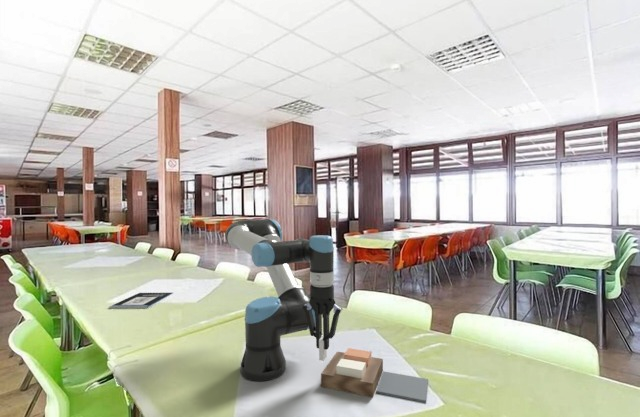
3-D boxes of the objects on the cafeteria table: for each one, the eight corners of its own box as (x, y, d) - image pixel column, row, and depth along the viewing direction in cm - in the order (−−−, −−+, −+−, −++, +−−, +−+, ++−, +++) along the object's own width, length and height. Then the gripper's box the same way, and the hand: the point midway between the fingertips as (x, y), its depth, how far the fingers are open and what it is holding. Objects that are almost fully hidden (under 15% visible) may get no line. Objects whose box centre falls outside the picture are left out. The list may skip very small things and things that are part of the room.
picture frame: (173, 294, 208) (173, 291, 208) (147, 310, 178) (147, 306, 178) (139, 294, 208) (139, 291, 208) (108, 309, 178) (108, 306, 178)
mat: (376, 392, 97) (376, 390, 97) (383, 373, 108) (383, 371, 108) (426, 402, 92) (426, 400, 92) (428, 380, 103) (428, 379, 103)
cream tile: (336, 373, 100) (336, 365, 100) (341, 366, 105) (341, 358, 105) (362, 378, 98) (362, 370, 98) (366, 370, 102) (365, 362, 102)
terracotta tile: (344, 362, 108) (344, 354, 108) (348, 355, 113) (348, 348, 113) (368, 366, 105) (368, 358, 105) (371, 359, 110) (371, 351, 110)
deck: (321, 386, 101) (321, 373, 101) (337, 362, 116) (337, 351, 116) (372, 397, 95) (372, 383, 95) (382, 370, 110) (382, 358, 110)
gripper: (298, 285, 103) (299, 360, 103) (337, 288, 98) (338, 367, 99) (307, 280, 110) (308, 350, 110) (345, 283, 106) (346, 356, 106)
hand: (322, 358), depth 105 cm, fingers closed
